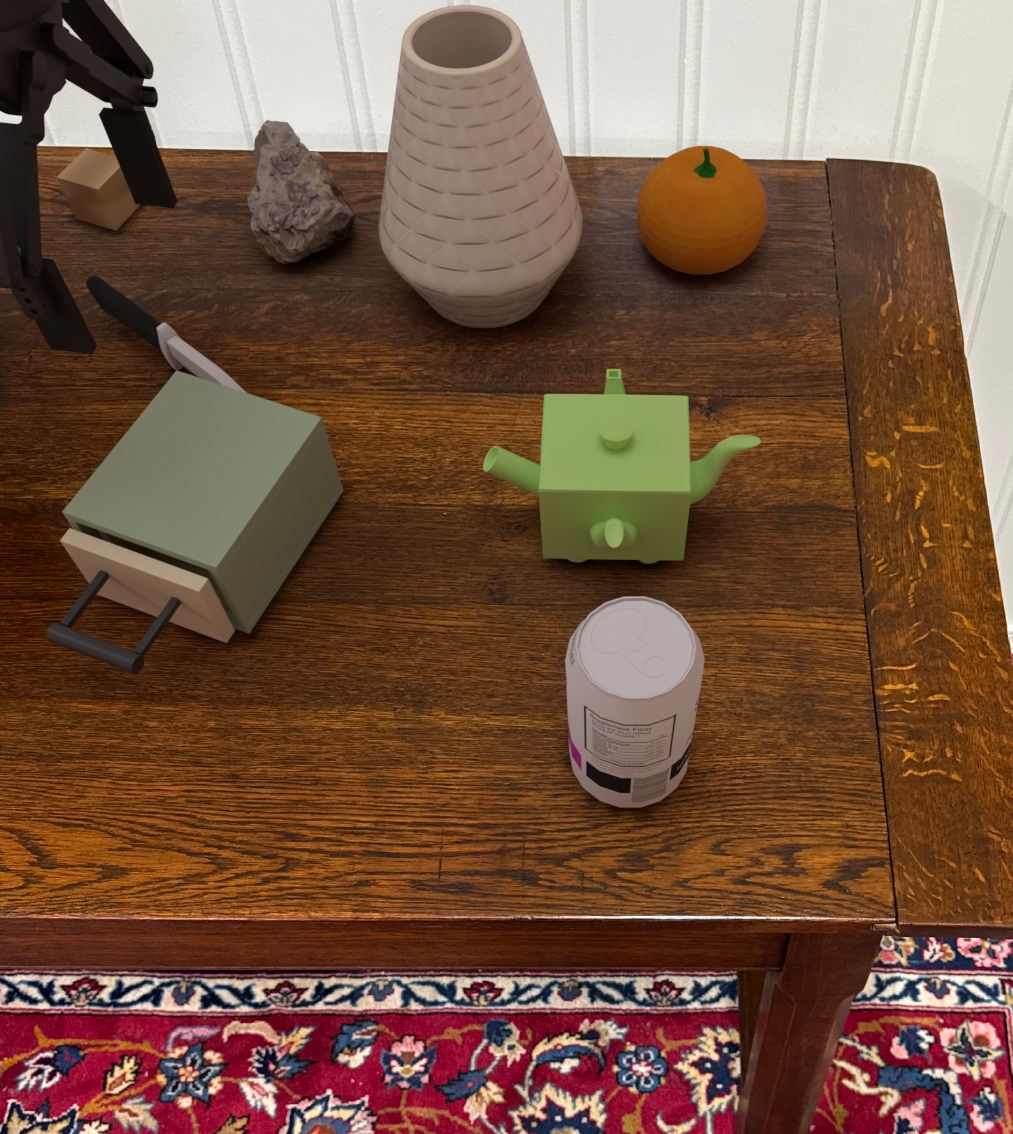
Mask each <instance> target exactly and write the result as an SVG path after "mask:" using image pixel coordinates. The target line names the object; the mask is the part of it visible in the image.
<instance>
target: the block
mask: <svg viewBox="0 0 1013 1134" xmlns="http://www.w3.org/2000/svg"><path fill="white" fill-rule="evenodd" d="M56 179H57V181H58V184H59V186H60V189H61V190H62V192H63V194H64V196H65V199H66V201H67V203H68V205H69V207H70V209H71V211H72V214H73V216H74V218H75V219H76V220H78V221H82V222H85V223H88V224H92V225H95V226H99V227H102V228H105V229H109V230H110V231H111V230H112V231H115V232H117V231H118V230H119V229H120V227H121V226H122V225H124V224H125V222H126V221H127V220H128V219H129V218H130V217H131V216H132V215H133V214H134V213H135V211H136V210H137V209H138V208H139V207H140V206H141V205H139V204H135V202H134V199H133V197H132V195H131V192H130V190H129V187H128V185H127V182H126V180H125V177H124V175H123V173H122V170H121V168H120V165H119V163H118V160H117V158H116V156H115V155H112V154H108V153H105V152H101V151H97V150H94V149H91V148H87V147H85V148H84V149H83V150H82V151H81V152H80V153H79V154H78V155H77V156H76V157H75V158H74V159H73V160H72V161H71V162H70V163H69V164H68V165H66V167H65V168H64V169H63V170H62V171H61V172H60V173H59V174H58V175H57V176H56Z"/></svg>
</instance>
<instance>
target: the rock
mask: <svg viewBox="0 0 1013 1134" xmlns="http://www.w3.org/2000/svg"><path fill="white" fill-rule="evenodd" d="M253 144H254V145H253V147H254V149H253V152H252V160H253V164H254V165H253V166H254V169H255V170H254V171H255V181H256V183H255V186H254V187H253V188H252V190H251V191H250V192H249V194H248V195H247V196H246V198H247V199H246V200H247V205H248V208H249V210H250V212H251V213H252V216H251V219H250V225H249V226H250V230H251V232H252V233H253V234H254V235H255V237H256V243H257V245H258V247H259V248H260V250H261V251H262V252H263V253H265V254H266V255H267V256H268V257H271V258H273V259H274V260H275V261H276V262H277V263H282V264H283V265H289V264H291V263H298V262H299V261H301V260H302V259H303V258H307V257H308V255H310V254H311V253H313V254H314V253H317V252H320V251H321V250H327V249H328V248H329V247H330V246H331V245H332V246H339V245H341V244H342V243H343V241H344V240H346V239H348V238H349V236H350V234H351V233H352V231H353V228H354V223H355V219H356V217H357V215H356V213H355V211H354V210H353V208H352V207H351V205H350V203H349V202H348V201H347V200H346V199H345V198H344V195H343V191H342V189H341V188H340V185H339V184H338V183H337V181H336V177H335V176H334V173H333V172H332V171H331V170H330V167H329V165H328V163H327V162H326V159H325V158H324V157H323V156H322V155H321V154H320V153H319V152H317V151H315V150H309V148H308V147H307V146H306V145H305V144H304V143H303V142H301V138H300V137H299V136H298V135H297V133H296V132H295V130H294V128H293V127H292V126H291V125H290V123H289V122H287V121H279V120H269V119H266V120H265V121H264V122H263V123H262V125H261V126H260V129H259V130H258V132H257V135H256V136H255V138H254V143H253Z"/></svg>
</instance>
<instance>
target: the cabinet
mask: <svg viewBox="0 0 1013 1134" xmlns="http://www.w3.org/2000/svg"><path fill="white" fill-rule="evenodd" d="M245 392H246V391H245ZM245 392H242V391H239V390H236V389H233V388H229V387H226V386H223V385H220V384H217V383H214V382H211V381H208V380H205V379H202V378H199V377H197V376H196V375H192V374H189V373H186V372H183V371H180V370H178V371H177V370H175V372H174V373H173V374H172V375H171V377H170V378H169V379H168V380H167V382H166V383H165V384H164V385H163V387H162V388H161V389H160V390H159V392H158V393H157V394H156V395H155V396H154V398H153V399H152V400H151V401H150V402H149V404H148V405H147V406H146V407H145V409H144V410H143V411H142V412H141V414H140V415H139V416H138V417H137V418H136V419H135V421H134V422H133V424H132V425H131V426H130V427H129V428H128V430H126V432H125V433H124V435H123V436H122V437H121V438H120V440H119V441H118V442H117V443H116V445H115V446H114V447H113V448H112V450H111V451H110V452H109V453H108V455H107V456H106V457H105V458H104V459H103V461H101V463H100V464H99V466H97V468H96V469H95V470H94V472H93V473H92V474H91V476H90V477H89V478H88V479H87V481H85V483H84V484H83V485H82V487H81V488H80V489H78V491H77V493H76V494H75V495H74V496H73V497H72V499H71V500H70V501H69V503H68V504H67V505H66V506H65V507H64V509H63V510H62V511H61V513H62V514H63V516H64V517H65V519H66V521H67V522H68V523H69V525H70V526H71V529H73V530H76V531H79V532H82V533H84V534H87V535H90V536H93V537H95V538H98V539H101V540H103V538H102V537H101V535H100V533H99V532H98V530H99V531H102V532H105V533H108V534H110V535H113V536H116V537H119V538H121V539H124V540H127V541H130V542H132V543H135V544H138V545H141V546H143V547H146V548H149V549H152V550H154V551H157V552H160V553H163V554H166V555H168V556H171V557H174V558H177V559H179V560H182V561H185V562H188V563H190V564H193V565H196V566H199V567H201V568H204V569H207V570H210V572H211V574H212V575H213V577H214V579H215V581H216V583H217V585H218V587H219V589H220V591H221V593H222V595H223V597H224V599H225V601H226V603H227V605H228V607H229V609H228V608H225V607H223V608H224V610H225V612H226V614H227V616H228V618H229V620H230V622H231V624H232V626H233V628H234V630H238V631H241V632H243V633H245V634H250V633H251V632H252V630H253V629H254V627H255V626H256V624H257V623H258V621H259V620H260V618H261V617H262V615H263V614H264V612H265V611H266V609H267V608H268V606H269V604H270V603H271V602H272V601H273V598H274V597H275V595H277V592H278V591H279V590H280V588H281V586H282V585H283V583H284V582H285V581H286V579H287V577H288V576H289V574H290V573H291V571H292V570H293V568H294V567H295V565H296V564H297V562H298V561H299V559H300V558H301V556H302V555H303V553H304V552H305V550H306V549H307V547H308V546H309V544H310V543H311V541H312V540H313V538H314V536H316V533H317V532H318V530H319V529H320V527H321V526H322V524H323V523H324V521H325V520H326V518H327V517H328V515H329V514H330V512H331V510H332V509H333V508H334V506H335V505H336V503H337V502H338V500H339V499H340V497H341V496H342V494H343V493H344V487H343V484H342V481H341V479H340V478H341V477H340V474H339V471H338V468H337V467H338V466H337V465H336V461H335V457H334V454H333V451H332V448H331V443H330V440H329V437H328V434H327V431H326V428H325V427H326V426H325V425H324V424H325V423H324V421H323V417H321V416H319V415H316V414H313V413H310V412H307V411H303V410H300V409H298V408H294V407H292V406H288V405H285V404H282V403H278V402H276V401H273V400H269V399H267V398H263V397H261V396H257V395H254V394H251V393H248V392H246V393H245Z"/></svg>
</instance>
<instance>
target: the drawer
mask: <svg viewBox="0 0 1013 1134" xmlns="http://www.w3.org/2000/svg"><path fill="white" fill-rule="evenodd" d="M98 532H99V533H100V535H101V537H102V538H103V540H101V539H98V538H95V537H93V536H90V535H87V534H84V533H82V532H79V531H76V530H74V529H73V528H72V527H71V528H70V527H69V528H68V530H67V531H66V532H65V533H64V534H63V536H62V537H61V538H60V540H59V541H60V542H59V543H61V545H62V546H63V547H64V549H65V550H66V552H67V554H68V555H69V557H70V558H71V560H72V561H73V562H74V564H75V565H76V567H77V568H78V570H79V571H80V573H81V574H82V575H83V577H84V579H85V580H86V582H87V583H88V585H87V586H86V588H85V589H84V590H83V592H82V593H81V594H80V596H79V597H78V598H77V600H76V601H75V602H74V603H73V604H72V606H71V607H70V609H69V610H68V611H67V612H66V614H65V615H64V617H63V618H62V619H61V620H60V622H53V623H52V624H50V625H49V626H48V628H47V629H46V633H45V638H46V640H47V642H49V643H52V644H55V645H58V646H60V647H62V648H65V649H67V650H70V651H72V652H76V653H78V654H80V655H83V656H86V657H88V658H91V659H94V660H95V661H99V662H102V663H104V664H107V665H109V666H112V667H114V668H117V669H119V670H122V671H124V672H127V673H129V674H132V675H137V674H139V673H140V672H141V671H142V670H143V668H144V666H145V662H146V659H145V656H146V655H147V653H148V652H149V650H150V649H151V647H152V645H153V644H154V643H155V642H156V640H157V639H158V637H159V636H160V635H161V633H162V632H163V630H164V629H165V627H166V626H167V624H168V623H172V624H175V625H176V626H177V625H178V626H180V627H183V628H185V629H188V630H191V631H193V632H195V633H198V634H201V635H204V636H207V637H209V638H212V639H214V640H218V641H220V642H222V643H225V644H227V643H228V642H229V641H230V639H231V638H232V636H233V635H234V633H235V632H236V629H235V628H233V626H232V624H231V622H230V620H229V618H228V616H227V614H226V612H225V610H224V608H223V607H225V608H228V609H229V607H228V605H227V603H226V601H225V599H224V597H223V595H222V593H221V591H220V589H219V587H218V585H217V583H216V581H215V579H214V577H213V575H212V574H211V572H210V570H207V569H204V568H201V567H199V566H196V565H193V564H190V563H188V562H185V561H182V560H179V559H177V558H174V557H171V556H168V555H166V554H163V553H160V552H157V551H154V550H152V549H149V548H146V547H143V546H141V545H138V544H135V543H132V542H130V541H127V540H124V539H121V538H119V537H116V536H113V535H110V534H108V533H105V532H102V531H99V530H98ZM97 595H98V596H100V597H102V598H106V599H108V600H110V601H113V602H115V603H119V604H122V605H124V606H127V607H129V608H131V609H134V610H137V611H140V612H141V613H145V614H148V615H151V616H153V617H156V618H155V620H154V621H153V623H152V624H151V625H150V627H149V628H148V630H147V631H146V633H145V634H144V635H143V636H142V638H141V639H140V640H139V642H138V643H137V645H136V646H135V648H134V649H133V651H132V650H130V649H127V648H125V647H122V646H119V645H117V644H114V643H112V642H109V641H106V640H104V639H101V638H99V637H96V636H93V635H91V634H88V633H85V632H83V631H82V630H78V629H75V628H73V626H74V625H75V624H76V622H77V621H78V620H79V619H80V618H81V616H82V614H83V613H84V612H85V611H86V609H87V608H88V606H89V605H90V604H91V602H92V601H93V600H94V599H95V597H96V596H97Z"/></svg>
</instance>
